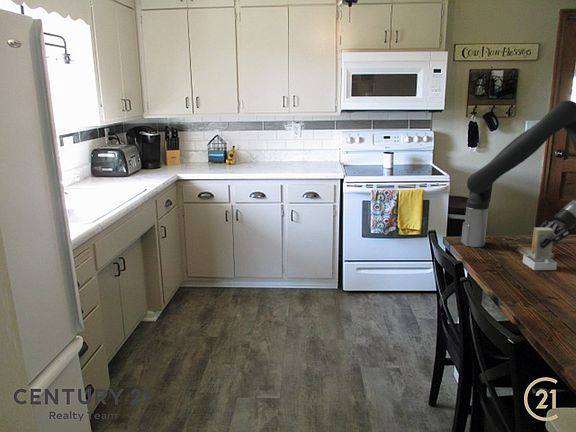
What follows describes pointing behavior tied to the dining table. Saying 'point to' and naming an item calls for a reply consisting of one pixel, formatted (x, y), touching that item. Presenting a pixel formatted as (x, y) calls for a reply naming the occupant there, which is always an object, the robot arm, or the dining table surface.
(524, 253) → the birch board
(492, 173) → the robot arm
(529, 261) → the gray square frame
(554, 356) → the dining table surface
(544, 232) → the skincare box
